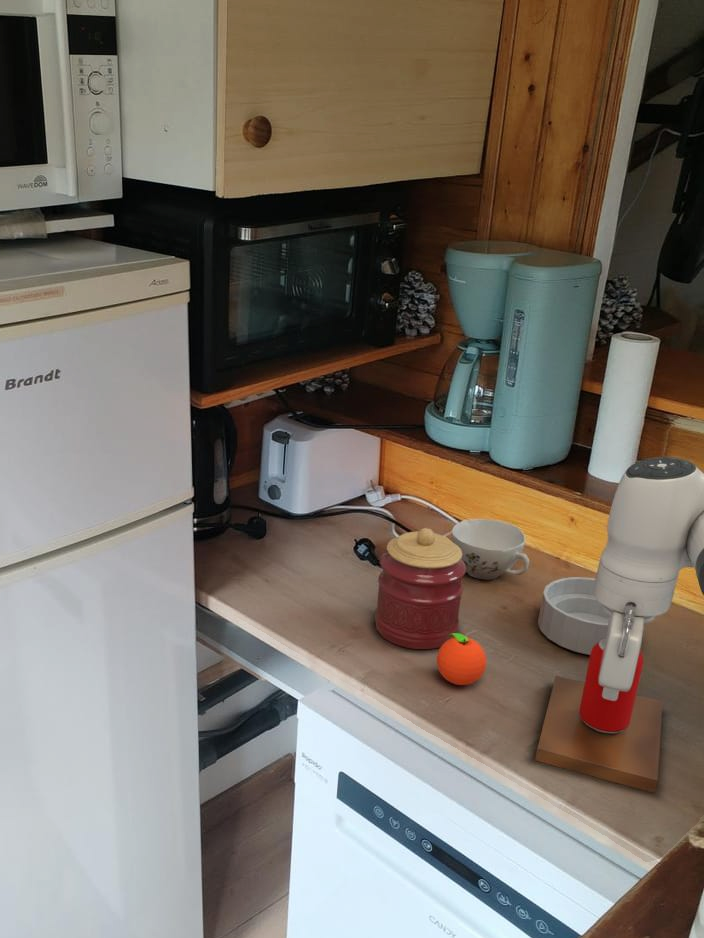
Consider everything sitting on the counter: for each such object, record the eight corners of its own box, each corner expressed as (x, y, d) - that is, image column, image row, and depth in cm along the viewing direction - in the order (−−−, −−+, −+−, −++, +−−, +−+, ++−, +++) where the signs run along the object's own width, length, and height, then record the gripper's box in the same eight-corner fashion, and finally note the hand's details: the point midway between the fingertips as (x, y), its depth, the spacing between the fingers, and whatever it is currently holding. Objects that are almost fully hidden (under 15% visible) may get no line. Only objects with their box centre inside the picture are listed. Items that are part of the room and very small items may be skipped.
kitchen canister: (357, 630, 144) (366, 529, 136) (402, 601, 152) (413, 504, 145) (429, 661, 136) (442, 556, 128) (472, 628, 144) (486, 528, 137)
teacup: (432, 568, 163) (437, 528, 160) (478, 551, 170) (483, 512, 166) (499, 602, 152) (506, 559, 149) (545, 582, 159) (553, 541, 155)
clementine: (422, 667, 134) (427, 626, 131) (464, 660, 136) (470, 620, 133) (448, 698, 127) (454, 655, 124) (492, 690, 129) (499, 648, 126)
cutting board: (659, 712, 125) (662, 700, 124) (654, 793, 110) (657, 780, 109) (553, 687, 130) (555, 675, 129) (534, 760, 115) (537, 748, 114)
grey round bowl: (642, 621, 147) (649, 589, 144) (636, 668, 134) (645, 634, 132) (544, 601, 153) (550, 569, 150) (531, 644, 140) (537, 611, 138)
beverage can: (626, 742, 115) (645, 663, 110) (575, 730, 118) (590, 651, 112) (629, 716, 120) (647, 639, 115) (580, 705, 123) (595, 628, 117)
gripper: (658, 633, 100) (633, 733, 106) (664, 558, 117) (642, 649, 123) (598, 620, 103) (577, 719, 109) (612, 549, 120) (593, 638, 126)
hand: (611, 681), depth 116 cm, fingers closed on beverage can, 6 cm apart
